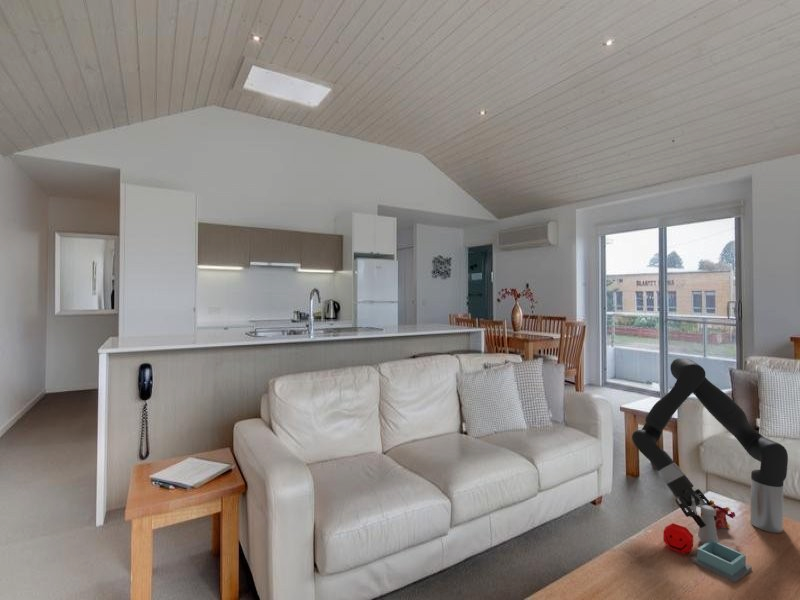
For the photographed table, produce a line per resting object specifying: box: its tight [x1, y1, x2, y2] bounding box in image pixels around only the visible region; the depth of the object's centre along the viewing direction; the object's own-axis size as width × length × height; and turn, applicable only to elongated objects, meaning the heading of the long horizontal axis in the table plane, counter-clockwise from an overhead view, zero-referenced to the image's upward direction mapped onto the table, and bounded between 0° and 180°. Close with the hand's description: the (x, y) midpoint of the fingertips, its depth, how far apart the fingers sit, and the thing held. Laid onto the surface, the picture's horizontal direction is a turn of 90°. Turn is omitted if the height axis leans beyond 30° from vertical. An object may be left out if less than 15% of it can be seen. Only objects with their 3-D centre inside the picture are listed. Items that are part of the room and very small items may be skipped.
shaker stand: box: [691, 540, 753, 583], centre depth 135 cm, size 12×12×4 cm
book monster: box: [700, 499, 736, 530], centre depth 156 cm, size 11×9×12 cm
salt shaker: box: [697, 505, 719, 545], centre depth 147 cm, size 6×6×13 cm
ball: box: [662, 523, 694, 555], centre depth 144 cm, size 8×8×8 cm
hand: (709, 523), depth 147 cm, fingers open, 8 cm apart
